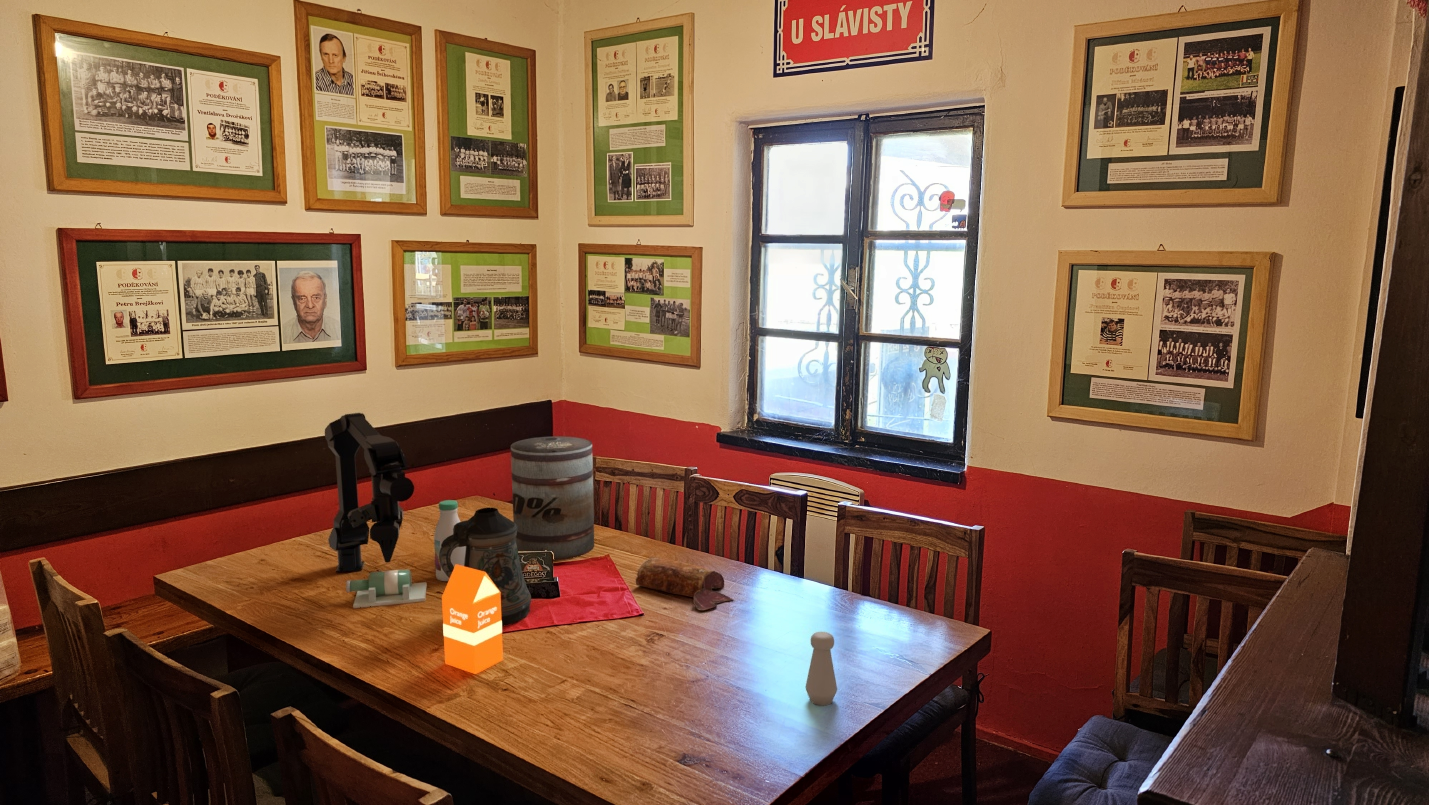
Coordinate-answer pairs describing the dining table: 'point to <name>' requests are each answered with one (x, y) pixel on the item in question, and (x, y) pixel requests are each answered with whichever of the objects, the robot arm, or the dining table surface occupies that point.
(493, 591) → the orange juice
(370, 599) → the white four-legged tray
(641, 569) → the cured meat
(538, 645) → the dining table surface
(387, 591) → the bottle
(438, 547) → the milk bottle
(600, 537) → the dining table surface
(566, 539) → the barrel
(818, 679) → the salt shaker
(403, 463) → the robot arm
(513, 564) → the beer stein
